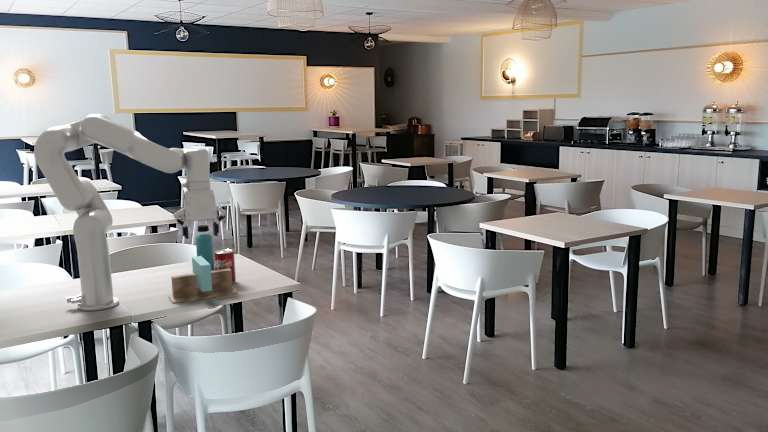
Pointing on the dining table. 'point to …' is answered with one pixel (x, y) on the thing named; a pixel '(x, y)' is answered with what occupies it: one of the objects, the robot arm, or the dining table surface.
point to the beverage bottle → (205, 245)
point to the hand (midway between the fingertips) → (201, 236)
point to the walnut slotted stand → (189, 291)
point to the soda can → (225, 261)
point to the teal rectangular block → (202, 273)
